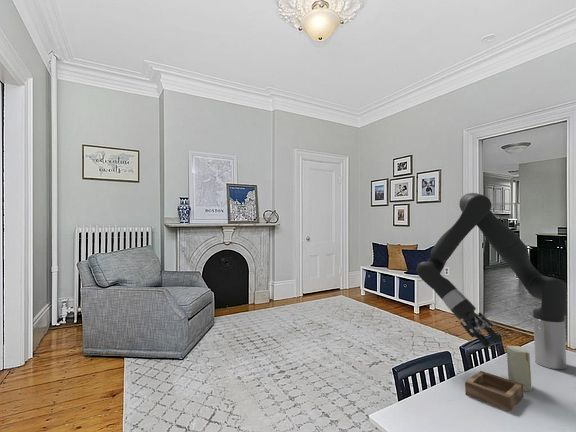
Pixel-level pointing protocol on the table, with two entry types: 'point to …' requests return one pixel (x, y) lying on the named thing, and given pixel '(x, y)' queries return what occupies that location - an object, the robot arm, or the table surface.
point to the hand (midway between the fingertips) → (493, 342)
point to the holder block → (494, 390)
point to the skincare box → (519, 366)
